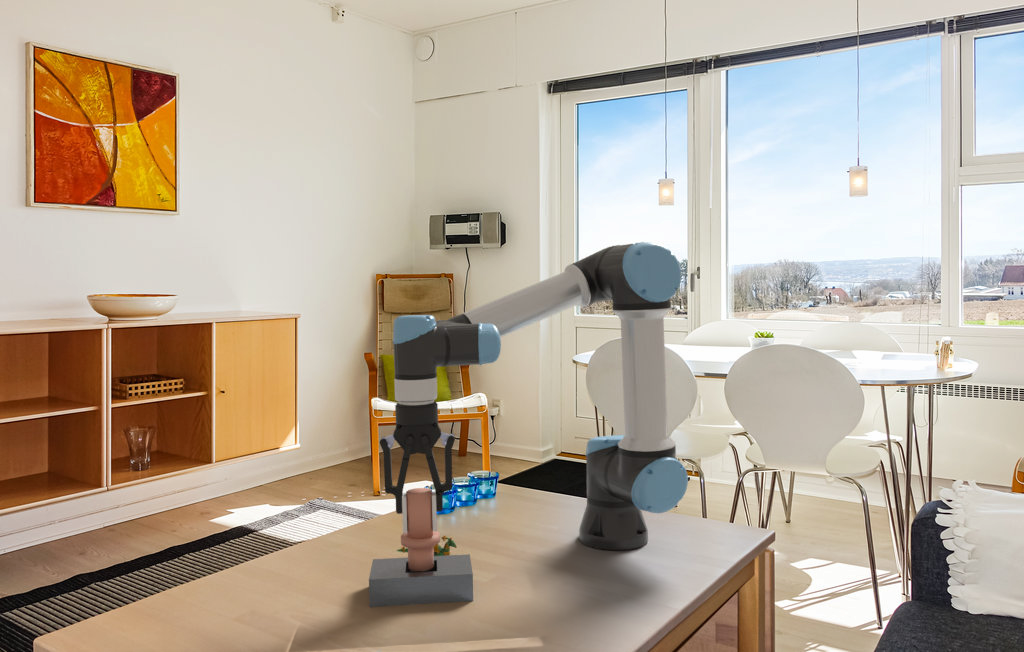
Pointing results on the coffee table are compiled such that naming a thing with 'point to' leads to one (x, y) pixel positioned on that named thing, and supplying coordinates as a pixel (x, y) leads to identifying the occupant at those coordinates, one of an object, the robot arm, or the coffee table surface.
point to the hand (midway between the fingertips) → (420, 529)
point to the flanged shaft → (420, 530)
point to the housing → (420, 582)
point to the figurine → (438, 548)
